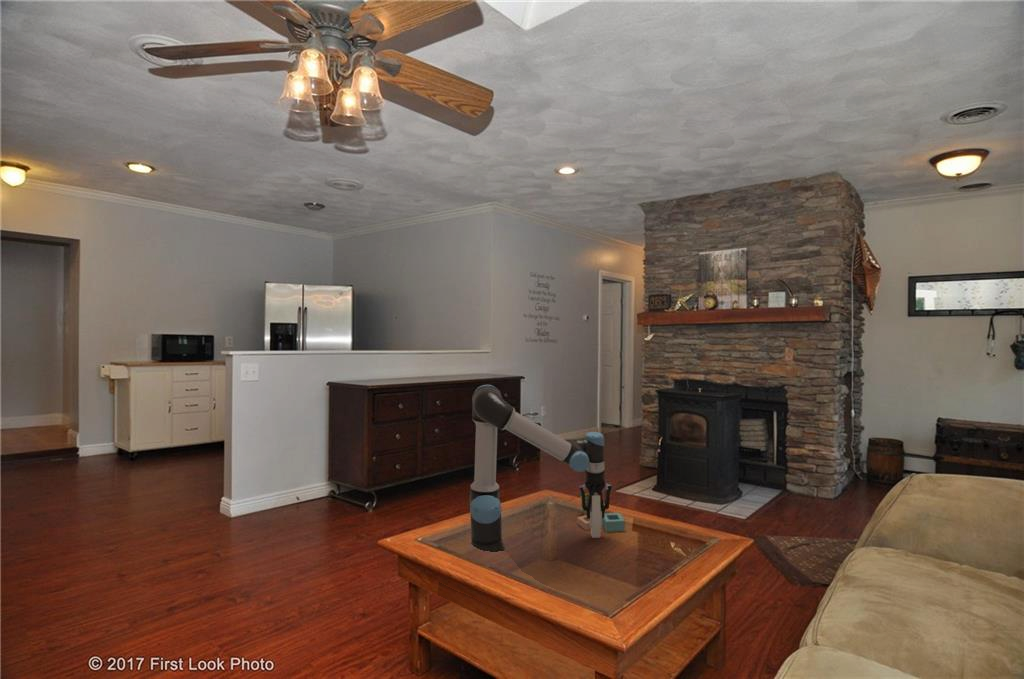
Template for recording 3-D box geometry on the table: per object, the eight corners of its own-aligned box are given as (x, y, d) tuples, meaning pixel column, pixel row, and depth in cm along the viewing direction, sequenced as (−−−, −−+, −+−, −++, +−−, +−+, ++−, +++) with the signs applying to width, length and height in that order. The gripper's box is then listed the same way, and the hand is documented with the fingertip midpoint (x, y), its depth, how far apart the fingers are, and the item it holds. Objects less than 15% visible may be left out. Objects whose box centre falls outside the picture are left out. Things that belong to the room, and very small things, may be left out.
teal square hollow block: (605, 532, 233) (605, 521, 233) (601, 523, 241) (601, 513, 241) (624, 531, 234) (624, 520, 233) (619, 522, 242) (619, 512, 241)
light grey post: (592, 538, 228) (592, 492, 226) (590, 534, 232) (590, 488, 229) (600, 537, 228) (600, 491, 226) (598, 533, 232) (598, 488, 230)
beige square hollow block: (585, 530, 235) (585, 523, 235) (577, 523, 242) (577, 517, 241) (599, 527, 238) (599, 520, 238) (591, 520, 244) (591, 514, 244)
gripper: (576, 474, 223) (577, 530, 225) (617, 472, 224) (617, 528, 226) (573, 468, 230) (574, 522, 233) (612, 466, 231) (613, 520, 234)
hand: (595, 525), depth 229 cm, fingers closed on light grey post, 3 cm apart
